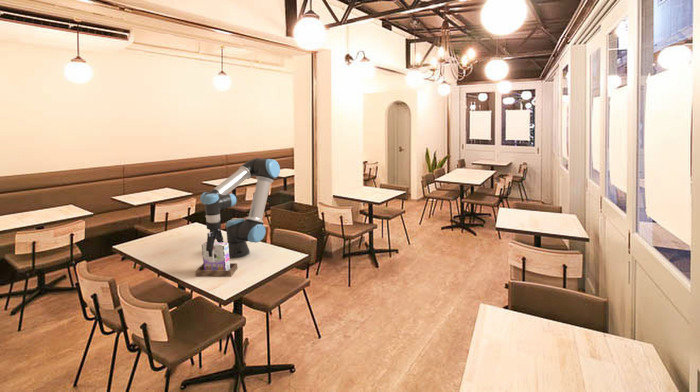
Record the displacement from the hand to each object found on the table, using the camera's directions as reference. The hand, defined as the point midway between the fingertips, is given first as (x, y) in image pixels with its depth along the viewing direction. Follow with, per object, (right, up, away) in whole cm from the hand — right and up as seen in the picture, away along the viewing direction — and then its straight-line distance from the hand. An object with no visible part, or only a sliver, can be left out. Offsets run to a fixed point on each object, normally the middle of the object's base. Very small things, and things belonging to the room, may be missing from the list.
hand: (216, 257), depth 225 cm
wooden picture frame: (0, -9, +2) cm, 9 cm away
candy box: (0, -8, +2) cm, 8 cm away
